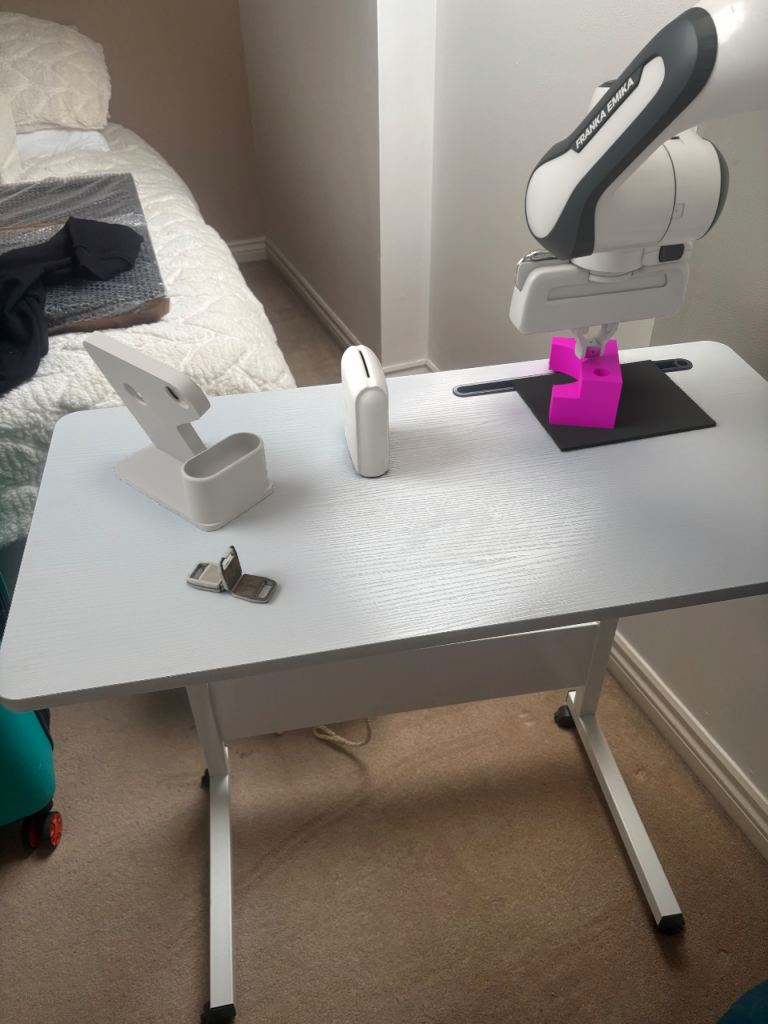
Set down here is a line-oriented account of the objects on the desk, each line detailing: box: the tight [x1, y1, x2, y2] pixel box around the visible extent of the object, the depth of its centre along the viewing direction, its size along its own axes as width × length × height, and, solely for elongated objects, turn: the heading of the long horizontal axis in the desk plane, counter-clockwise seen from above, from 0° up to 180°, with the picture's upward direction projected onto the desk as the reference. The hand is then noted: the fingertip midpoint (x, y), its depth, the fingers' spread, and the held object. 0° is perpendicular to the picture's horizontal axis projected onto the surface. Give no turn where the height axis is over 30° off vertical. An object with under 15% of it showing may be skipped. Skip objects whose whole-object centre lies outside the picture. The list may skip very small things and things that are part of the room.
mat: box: [510, 359, 717, 453], centre depth 103 cm, size 20×16×1 cm
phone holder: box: [82, 330, 274, 532], centre depth 86 cm, size 17×10×18 cm, turn 51°
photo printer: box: [340, 344, 390, 478], centre depth 92 cm, size 10×4×12 cm, turn 11°
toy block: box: [548, 336, 623, 428], centre depth 103 cm, size 15×6×8 cm
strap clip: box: [185, 545, 278, 603], centre depth 78 cm, size 8×3×4 cm, turn 72°
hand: (588, 355), depth 98 cm, fingers closed
